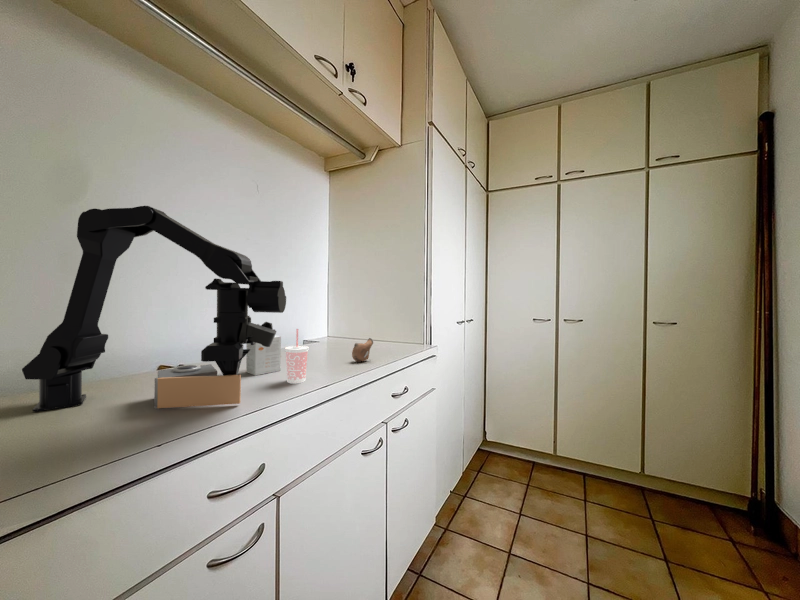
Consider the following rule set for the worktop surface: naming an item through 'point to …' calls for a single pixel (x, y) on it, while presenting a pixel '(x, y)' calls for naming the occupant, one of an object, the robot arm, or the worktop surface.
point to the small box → (264, 357)
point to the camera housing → (188, 371)
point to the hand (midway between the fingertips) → (232, 385)
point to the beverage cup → (296, 362)
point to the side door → (197, 391)
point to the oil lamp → (362, 350)
